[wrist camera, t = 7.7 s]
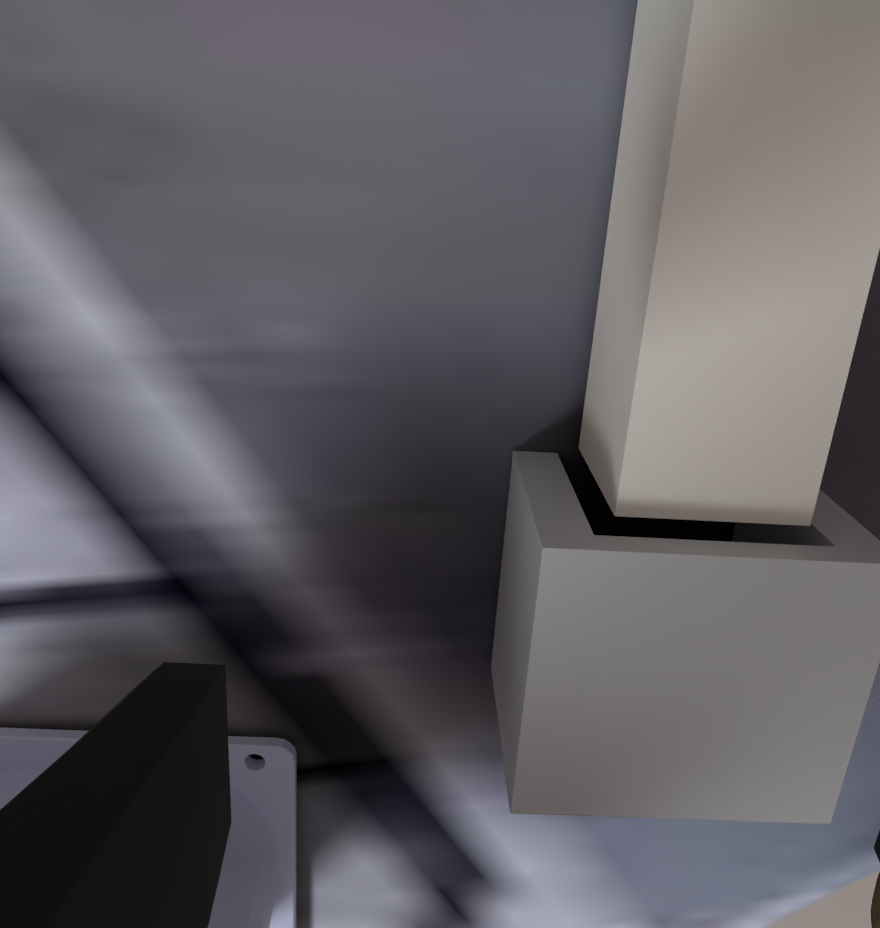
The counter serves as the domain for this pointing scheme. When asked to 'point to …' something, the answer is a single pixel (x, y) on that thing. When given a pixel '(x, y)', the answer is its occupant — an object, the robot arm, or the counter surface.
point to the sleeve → (679, 661)
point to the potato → (876, 905)
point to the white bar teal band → (735, 257)
